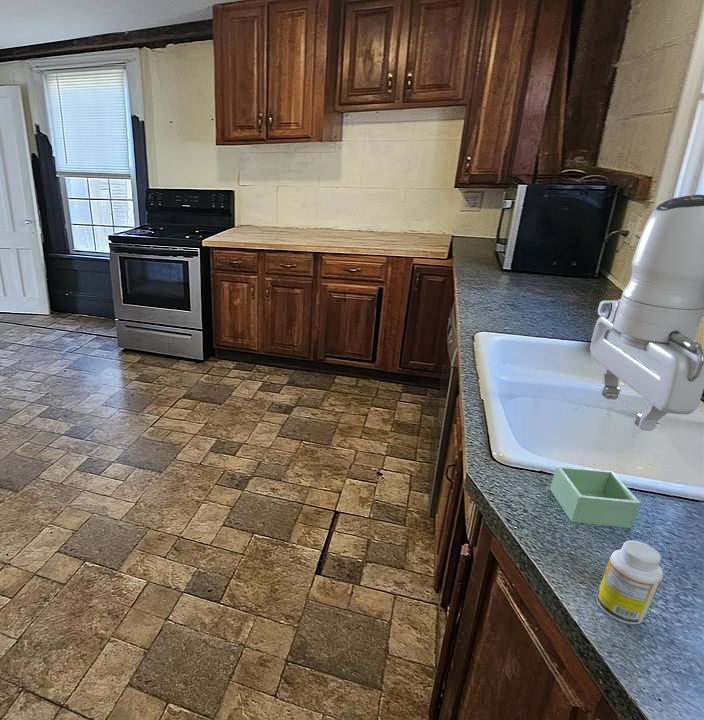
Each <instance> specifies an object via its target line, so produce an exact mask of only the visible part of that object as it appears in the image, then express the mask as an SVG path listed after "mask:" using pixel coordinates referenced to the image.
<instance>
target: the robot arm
mask: <svg viewBox="0 0 704 720" xmlns="http://www.w3.org/2000/svg"><path fill="white" fill-rule="evenodd" d="M634 251H635V252H634V254H633V258H632V260H631V276H630V279H629V281H628V283H627V285H626V286H625V287H624V289H623V290H622V294H621V296H620V299H612V300H602V301H600V302H599V304H598V307H597V314H598V315H599V317H598V318H597V320H596V323H595V324H594V329H593V332H592V337H591V341H590V347H589V351H590V356H591V358H592V359H593V360H595V362H597V363H598V364H600V365H601V366H602V368H601V382H602V387H601V390H600V395H601V396H602V397H603V398H605V399H606V400H617V399H618V398H619V394H620V393H621V388H620V387H619V380H620V381H621V382H623V383H624V384H625V385H626V386H628V387H629V388H630V389H632V390H633V391H634V392H635V393H637V394H638V395H639V396H640V397H642V398H643V399H644V400H646V402H645V405H644V406H645V408H646V409H645V411H643V413H637V414H636V416H635V420H634V425H635V426H637V427H638V428H639V430H641V431H645V432H652V431H654V430H655V429H656V426H657V424H658V421H660V420H661V418H662V419H663V417H665V416H666V415H667V414H673V415H690V414H692V413H694V412H695V411H697V410H698V408H699V406H700V402H701V398H702V395H703V393H704V352H703V350H702V349H703V346H702V345H701V344H700V343H699V342H697V341H695V338H696V334H697V332H698V330H699V327H700V324H701V322H702V318H703V316H704V194H693V195H692V194H691V195H684V196H679V197H678V196H677V197H674V198H671V199H669V200H666V201H663V202H661V203H660V204H658V205H657V206H656V207H655V208H654V210H653V211H652V212H651V214H650V216H649V217H648V219H647V221H646V223H645V225H644V228H643V230H642V232H641V234H640V237H639V240H638V243H637V246H636V248H635V250H634Z"/></svg>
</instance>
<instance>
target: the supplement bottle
mask: <svg viewBox="0 0 704 720" xmlns="http://www.w3.org/2000/svg"><path fill="white" fill-rule="evenodd" d="M661 561H662V556H661V554H660V552H659V551H658V550H657V549H656V548H654V547H653V546H651V545H649V544H647V543H645V542H642V541H638V540H626V541H624V542H623V545H622V546H621V548H620V549H616V550H615V551H613V552H612V553H611V555H610V557H609V559H608V563H607V566H606V569H605V571H604V573H603V574H604V575H603V577H602V579H601V583H600V585H599V588H598V590H597V594H596V603H597V605H598V607H599V608H600V609H601V610H602V611H603V612H604V613H605V615H608V616H609V617H610V618H611V619H614V620H616V621H618V622H620V623H623V624H627V625H640V624H641V623H643V622H644V621H645V620H646V618H647V617H648V614H649V611H650V609H651V606H652V604H653V602H654V600H655V597H656V595H657V593H658V589H659V588H660V586H661V583H662V581H663V577H664V572H663V569H662V567H661V566H660V563H661Z"/></svg>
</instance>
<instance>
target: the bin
mask: <svg viewBox="0 0 704 720" xmlns="http://www.w3.org/2000/svg"><path fill="white" fill-rule="evenodd" d="M549 491H550V492H551V494H552V495H553V496H554V498H555V500H556V501H557V502H558V504H559V506H560V507H561V509H562V510H563V512H564V513H565V515H566V516H567V517H568V519H569V521H570V522H571V523H578V524H586V525H587V524H588V525H595V526H604V527H615V528H622V529H623V528H624V529H632V528H633V526H634V523H635V521H636V518H637V515H638V513H639V510H640V508H641V505H642V502H641V501H640V500H639V499H638V498H637V497H636V496H635V494H634V493H632V491H631V490H630V489H629V487H627V485H626V484H625V483H624V482H623V481H622V480H621V479H620V477H618V475H617V474H616V473H615V472H614V471H613V470H605V469H595V468H594V469H592V468H583V467H572V466H563V465H556V466H555V470H554V473H553V476H552V480H551V483H550V487H549Z"/></svg>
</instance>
